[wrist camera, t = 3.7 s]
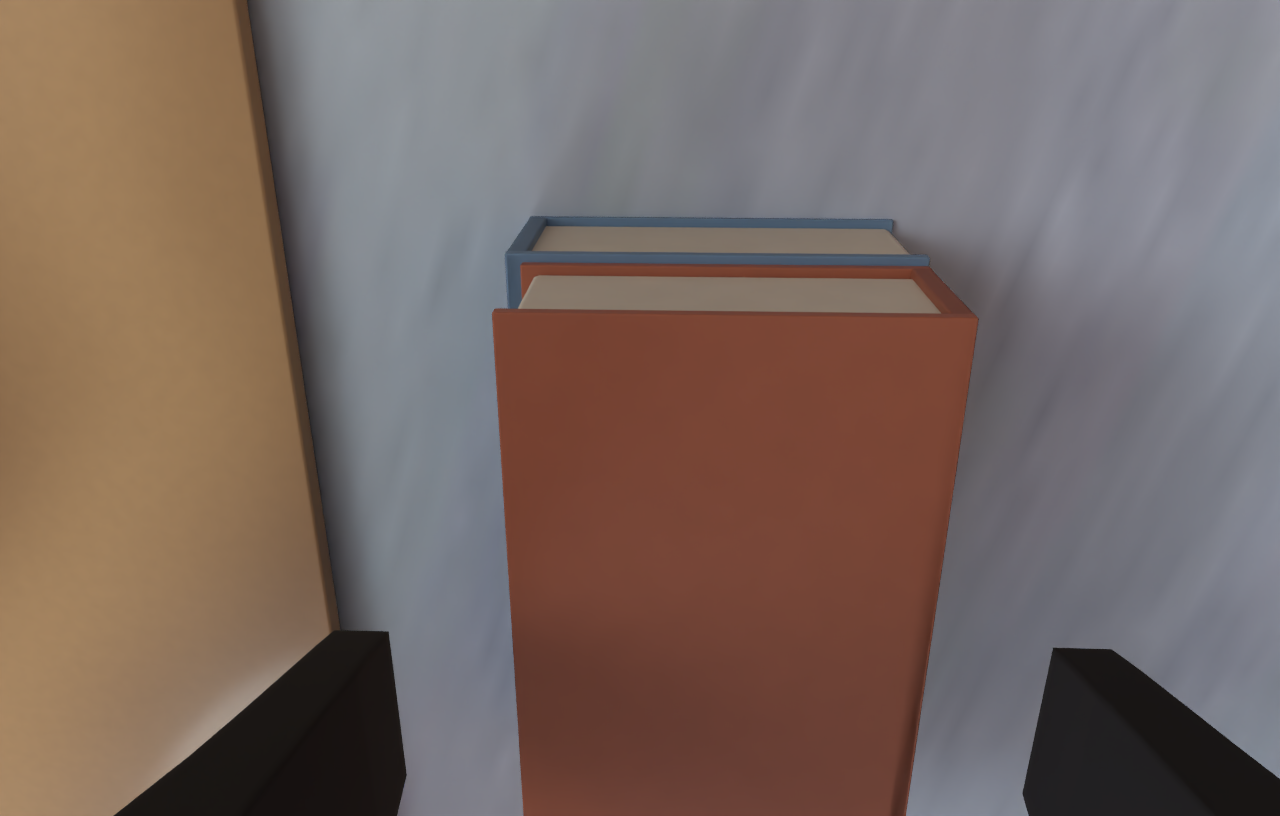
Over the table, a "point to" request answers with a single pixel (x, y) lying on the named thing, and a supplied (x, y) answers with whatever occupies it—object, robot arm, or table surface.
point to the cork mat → (143, 401)
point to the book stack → (724, 510)
